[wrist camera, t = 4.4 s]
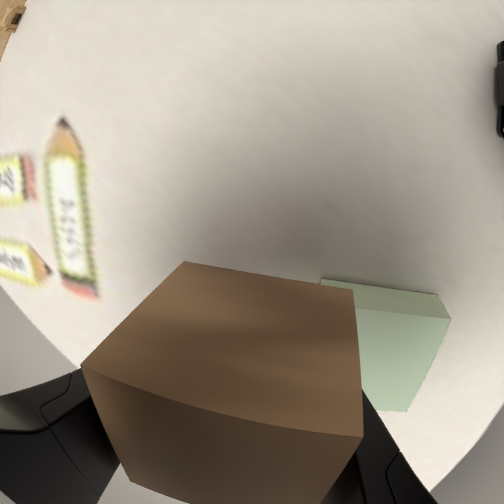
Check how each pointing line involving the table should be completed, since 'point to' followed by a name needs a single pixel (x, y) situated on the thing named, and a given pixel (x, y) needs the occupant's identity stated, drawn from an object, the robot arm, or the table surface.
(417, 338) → the platform
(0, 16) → the model pyramid
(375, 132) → the table surface
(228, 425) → the walnut cube
